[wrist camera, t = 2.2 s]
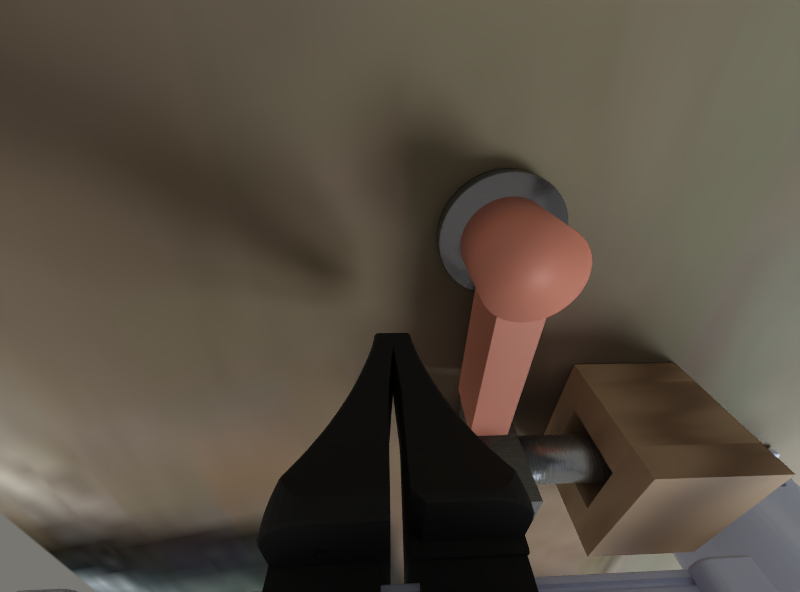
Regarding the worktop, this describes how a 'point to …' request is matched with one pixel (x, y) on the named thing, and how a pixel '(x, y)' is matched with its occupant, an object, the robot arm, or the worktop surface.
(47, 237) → the worktop surface
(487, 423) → the latch lever
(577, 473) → the bolt
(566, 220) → the lever base
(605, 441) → the eye block
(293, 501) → the robot arm
